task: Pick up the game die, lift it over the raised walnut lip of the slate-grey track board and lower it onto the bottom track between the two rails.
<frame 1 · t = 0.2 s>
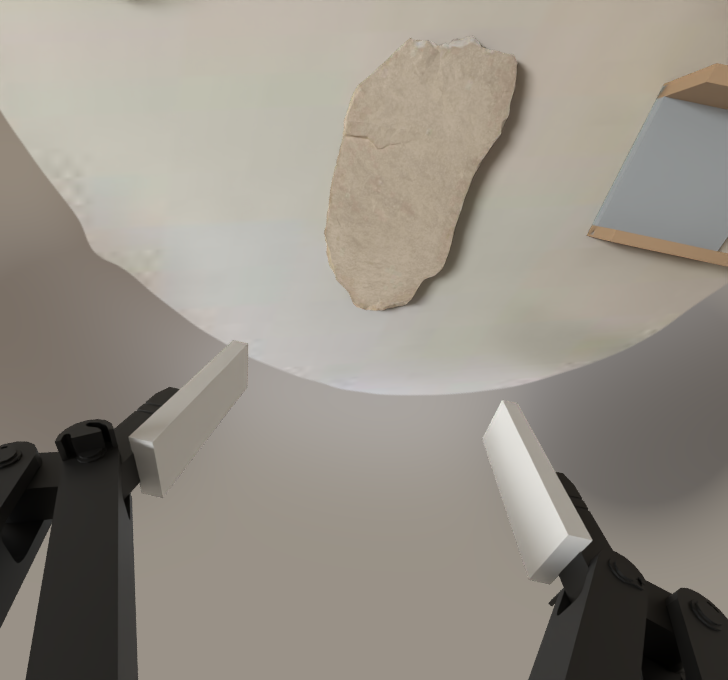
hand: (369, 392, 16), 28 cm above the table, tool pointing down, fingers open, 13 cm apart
stone tablet: (399, 193, 37), on the table
track: (685, 180, 33), on the table
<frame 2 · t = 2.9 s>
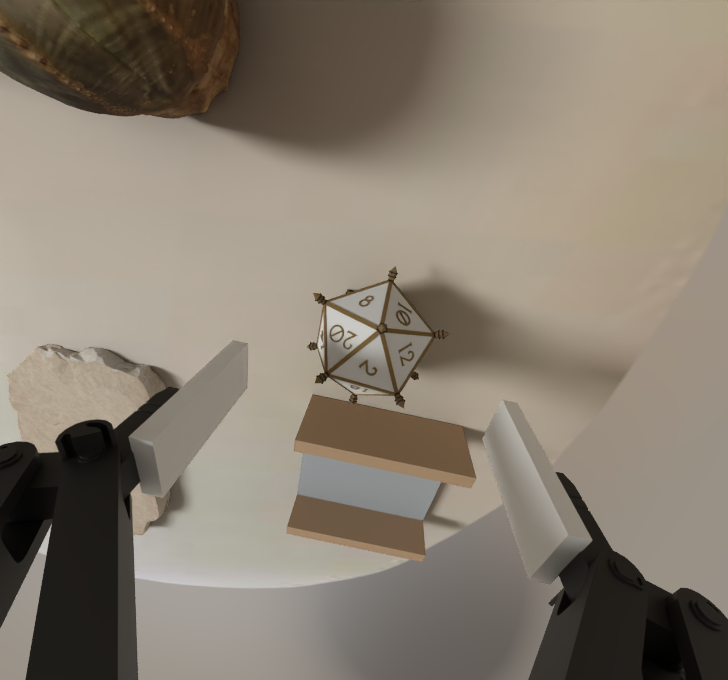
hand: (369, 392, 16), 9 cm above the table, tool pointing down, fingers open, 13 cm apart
game die: (375, 316, 24), on the table
stone tablet: (104, 445, 35), on the table
track: (371, 463, 31), on the table
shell: (181, 15, 16), on the table
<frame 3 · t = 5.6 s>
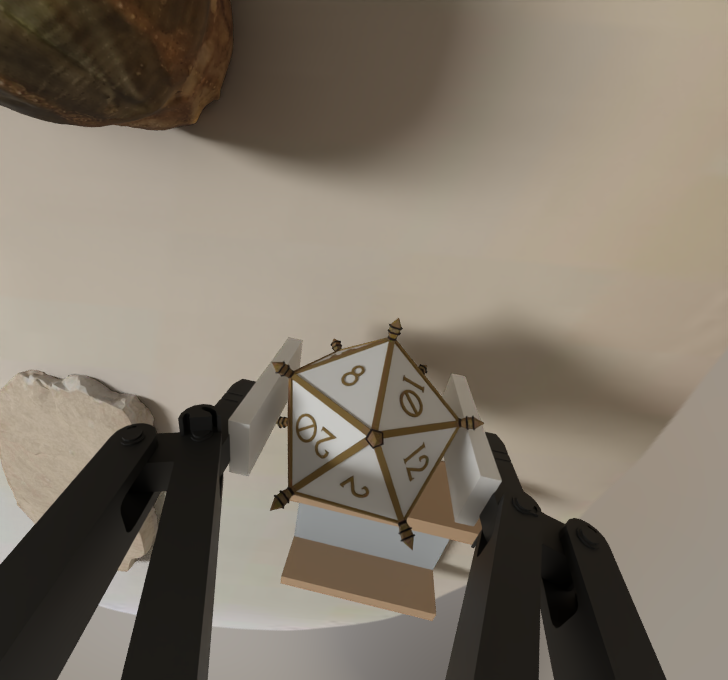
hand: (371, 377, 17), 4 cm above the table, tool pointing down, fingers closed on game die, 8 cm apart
game die: (373, 372, 17), point 4 cm above the table, touching gripper
stone tablet: (89, 475, 32), on the table
track: (376, 505, 28), on the table
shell: (169, 17, 15), on the table
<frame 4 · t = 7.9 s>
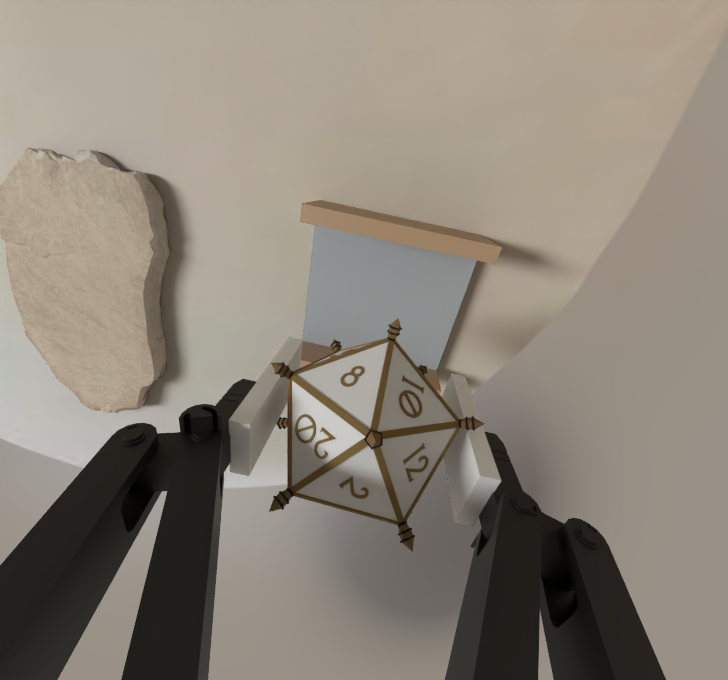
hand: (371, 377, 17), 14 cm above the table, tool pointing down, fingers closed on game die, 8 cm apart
game die: (373, 372, 17), point 13 cm above the table, touching gripper
stone tablet: (97, 297, 33), on the table
track: (382, 297, 29), on the table
when the fingers open (3 cm above the table, at t = 10.5 s): game die drops 1 cm, resting on track.
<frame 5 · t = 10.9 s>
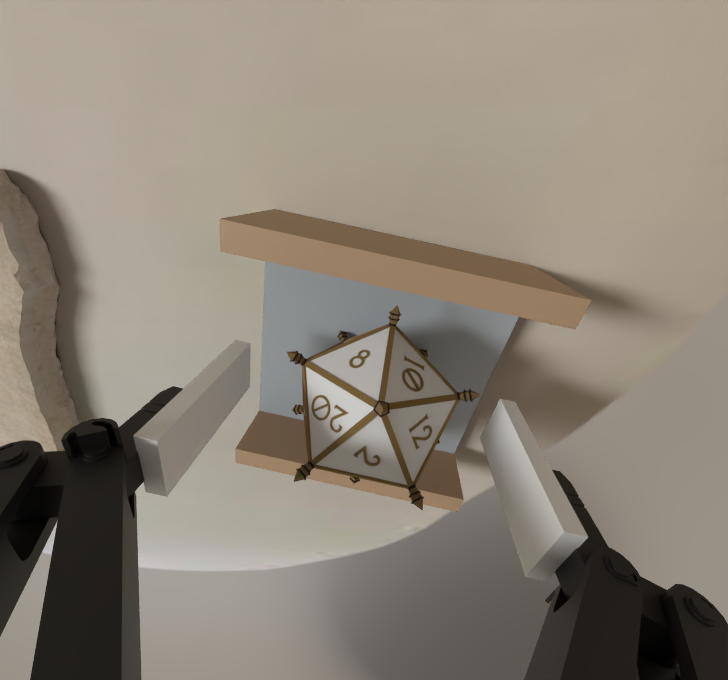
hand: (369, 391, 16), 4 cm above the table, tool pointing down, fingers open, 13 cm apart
game die: (378, 360, 19), point 1 cm above the table, touching track
track: (375, 352, 19), on the table
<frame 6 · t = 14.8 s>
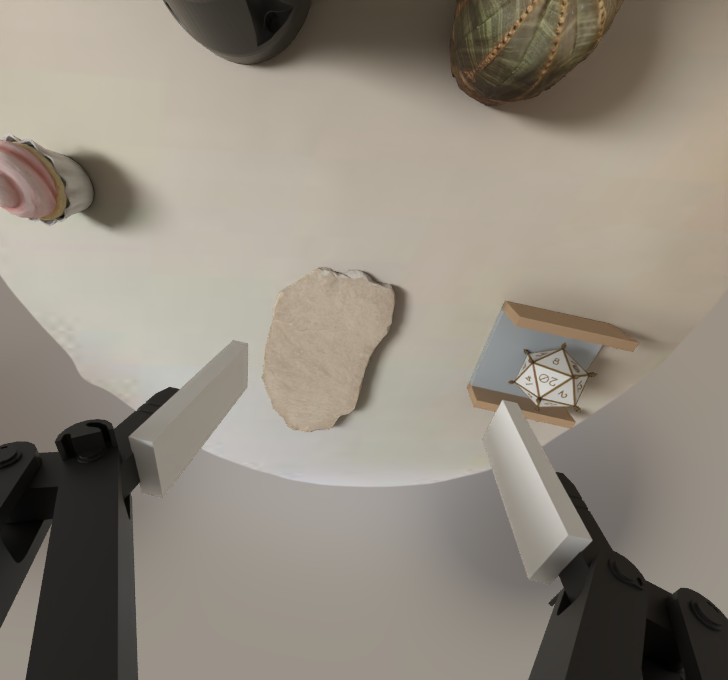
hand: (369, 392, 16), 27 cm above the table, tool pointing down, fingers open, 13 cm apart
game die: (536, 361, 42), point 1 cm above the table, touching track
stone tablet: (319, 353, 47), on the table
track: (532, 358, 43), on the table
cupcake: (71, 182, 39), on the table
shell: (502, 46, 29), on the table
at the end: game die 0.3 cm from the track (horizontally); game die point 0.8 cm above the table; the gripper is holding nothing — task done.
